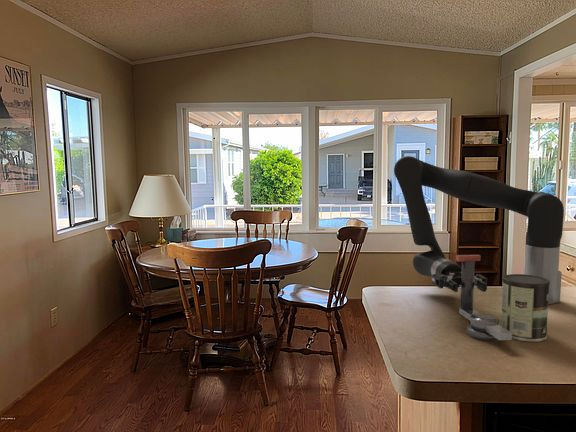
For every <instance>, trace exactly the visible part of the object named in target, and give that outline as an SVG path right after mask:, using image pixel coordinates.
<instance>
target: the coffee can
mask: <svg viewBox="0 0 576 432" xmlns="http://www.w3.org/2000/svg"><path fill="white" fill-rule="evenodd" d="M501 279H502V294H501V295H502V299H501V323H500V326H502V327H503V328H505V329H507V330H508V331H510V332H511V333H512V340H515V341H516V340H517V341H523V342H528V343H529V342H531V343H533V342H534V343H536V342H537V343H539V342H544V341H546V340H547V338H548V313H549V304H548V298H549V285H550V281H549V280H548V279H546V278H543V277H539V276H533V275H524V273H512V274H506V275H503V276H502V278H501Z"/></svg>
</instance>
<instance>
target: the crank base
mask: <svg viewBox="0 0 576 432" xmlns="http://www.w3.org/2000/svg"><path fill="white" fill-rule="evenodd" d="M466 334H467V336H468V337H471V338H472V339H475V340H479V341H485V342H486V341H487V342H495V341H499V340H498V339H497V338H495V337H494V336H492V335H491V334H489V333H488V332H481V331H477V330H474V329H472V328H471V327H470V323H469V324H468V325H466Z"/></svg>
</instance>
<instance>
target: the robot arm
mask: <svg viewBox="0 0 576 432" xmlns="http://www.w3.org/2000/svg"><path fill="white" fill-rule="evenodd" d="M393 174H394V176H395V178H396V180H397V183H398V186H399V187H400V190H401V192H402V196H403V199H404V202H405V206H406V211H407V217H408V221H409V222H408V223H409V225H410V230H411V235H412V239H413V243H414V245H416V246H419V247H420V246H428V247H429V248H430V250H427V251H423V252H419V253H416V254H415V255H414V257H413V259H412V265H413V268H414V270H415V271H416V272H417V274H419V275H422V276H426V277H431V284H433V285H434V286H435V287H437V288H438V289H444V288H446V289H447V290H450V291H453V292H455V293H457V292H458V290H459V288H461V268H462V265H460V264H458V263H455V262H454V261H452V260H450V259H448V258H446V255H445V253H444V252H443V250H442V248H441V247H440V245H439V243H438V241H437V238H436V236H435V235H436V234H435V232H434V227H433V222H432V218H431V215H430V212H429V208H428V206H427V204H426V200H425V195H424V191H423V187H427V188H431V189H434V190H436V191H439V192H442V193H444V194H446V195H447V196H450V197H453V198H456V199H458V200H460V201H465V202H467V203H471V204H475V205H478V206H483V207H490V208H496V209H497V208H498V209H503V210H509V211H511V212H514V213H516V214H520V215H522V216H523V217H524V216H525V217H527V229H526V231H527V232H526V235H525V245H524V246H525V247H524V266H523V274H524V275H533V276H539V277H543V278H546V279H548V280H549V281H550V285H549V298H548V305H555V304H556V303H561V293H562V291H561V290H562V289H561V288H562V275H563V274H562V273H563V272H562V271H561V270H559V268H560V254H561V251H560V249H561V241H562V237H563V229H564V216H565V210H564V209H565V208H564V203H563V202H562V200H561V198H560V197H558V196H556V195H554V194H551V193H548V192H547V193H546V192H538V191H532V190H528V189H527V190H526V189H524V188H523V189H521V188H517V187H514V186H511V185H509V184H507V183H504V182H502V181H500V180H497V179H495V178H490V177H488V176H485V175H482V174H477V173H473V172H470V171H464V170H458V169H451V168H445V167H440V166H436V165H434V164H430V163H428V162H425V161H423V160H421V159H419V158H417V157H415V156H411V155H406V156H403V157H401V158H399V159H398V160H397V161H396V162H395V164H394V167H393ZM474 289H477V290H479V291H481V292H483V293H484V292H486V291H487V290H488V278H487V277H485V276H484V275H482V274H480V273H476V274H475V275H474Z"/></svg>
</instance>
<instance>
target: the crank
mask: <svg viewBox="0 0 576 432" xmlns="http://www.w3.org/2000/svg"><path fill="white" fill-rule="evenodd" d="M455 255H456V254H455ZM481 257H482V256H481V255H480V254H457V255H456V256H455V261H456V262H461V267H462V268H461V287H460V301H459V303H460V304H459V313H458V314H460V315H462V317H464V318H465V319H467V320H468V321H470V323H469V324H470V327H471V328H472V329H474V330H477V331H481V332H488V333H489V334H491V335H492V336H494V337H495V338H497V339H498V340H497V341H512V340H513V339H512V333H511V332H510V331H508V330H507V329H505V328H503V327H502V326H501V324H500V319H499V318H498V317H496V316H495V315H494V316H493V315H491V314H485V313H480V312H478V311H477V310H476V309H474V293H475V292H474V291H475V287H474V276H475V268H476V267H475V265H476V263H475V262H481Z"/></svg>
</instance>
